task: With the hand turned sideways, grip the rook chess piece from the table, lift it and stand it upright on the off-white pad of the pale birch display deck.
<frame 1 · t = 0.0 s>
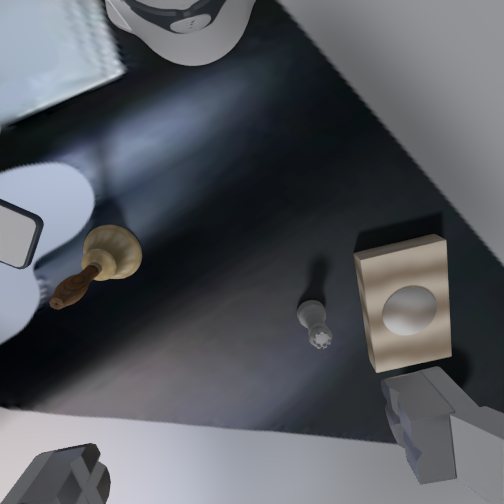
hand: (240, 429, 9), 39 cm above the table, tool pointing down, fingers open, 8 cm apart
rook chess piece: (310, 310, 53), on the table
hand bell: (113, 251, 48), on the table
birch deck: (399, 301, 52), on the table
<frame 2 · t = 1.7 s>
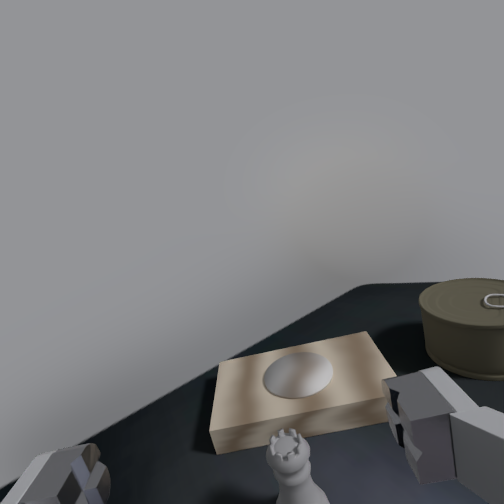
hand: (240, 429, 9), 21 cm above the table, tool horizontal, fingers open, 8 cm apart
can: (479, 351, 40), on the table
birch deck: (303, 395, 39), on the table
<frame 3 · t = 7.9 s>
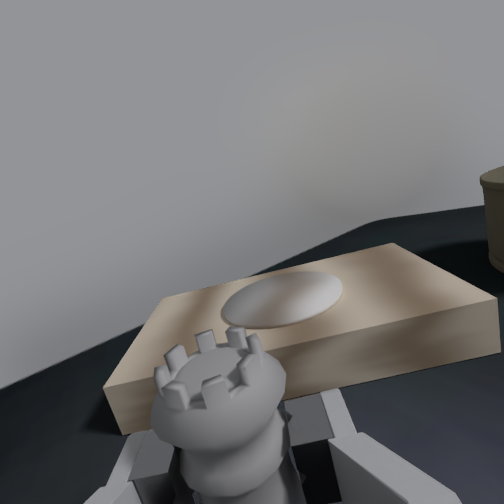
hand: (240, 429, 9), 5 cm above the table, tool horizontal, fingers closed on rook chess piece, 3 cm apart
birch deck: (291, 337, 23), on the table
when the fingers open (9 cm above the table, at t = 13.2 s): rook chess piece stays where it is, resting on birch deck.
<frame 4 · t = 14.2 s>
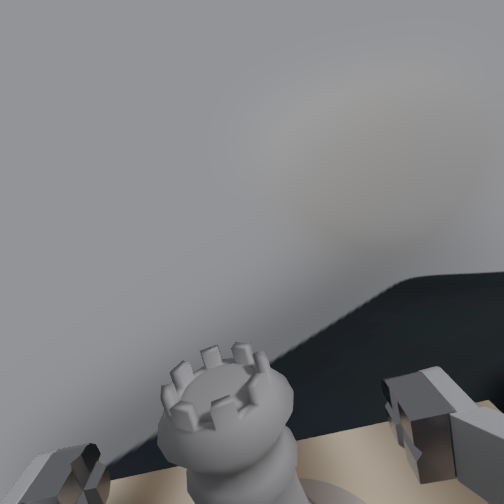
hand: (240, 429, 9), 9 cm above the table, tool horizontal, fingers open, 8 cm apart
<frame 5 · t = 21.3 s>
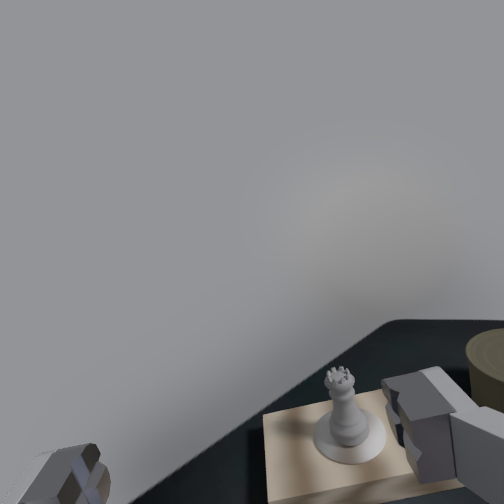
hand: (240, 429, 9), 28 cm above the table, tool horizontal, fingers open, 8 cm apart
rook chess piece: (350, 434, 38), point 3 cm above the table, touching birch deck
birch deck: (353, 454, 39), on the table
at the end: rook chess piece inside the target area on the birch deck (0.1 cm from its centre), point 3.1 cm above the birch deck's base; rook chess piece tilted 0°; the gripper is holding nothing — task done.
